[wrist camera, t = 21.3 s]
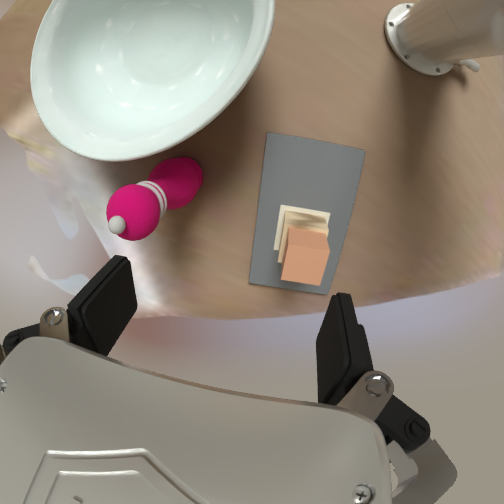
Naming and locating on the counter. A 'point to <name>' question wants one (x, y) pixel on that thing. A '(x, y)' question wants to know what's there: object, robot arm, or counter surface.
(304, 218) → the maple block
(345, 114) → the counter surface
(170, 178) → the pepper mill
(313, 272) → the terracotta cube
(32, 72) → the bowl
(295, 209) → the board
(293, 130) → the counter surface
